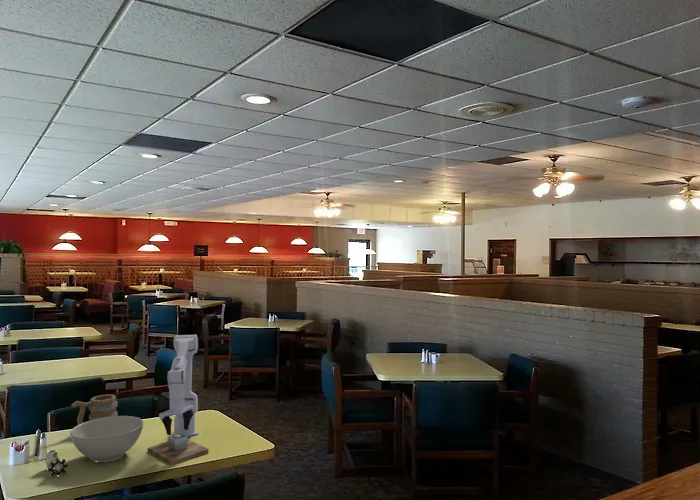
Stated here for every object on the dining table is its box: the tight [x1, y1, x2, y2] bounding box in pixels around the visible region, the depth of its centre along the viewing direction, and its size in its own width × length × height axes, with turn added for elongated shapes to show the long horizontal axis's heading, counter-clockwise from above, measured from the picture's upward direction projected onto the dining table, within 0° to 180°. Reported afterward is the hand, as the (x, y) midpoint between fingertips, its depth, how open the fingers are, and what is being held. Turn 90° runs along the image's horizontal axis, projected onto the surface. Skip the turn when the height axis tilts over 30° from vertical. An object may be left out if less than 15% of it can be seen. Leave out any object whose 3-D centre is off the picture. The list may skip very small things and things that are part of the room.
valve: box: [45, 449, 69, 477], centre depth 200 cm, size 7×7×12 cm
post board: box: [147, 434, 209, 465], centre depth 217 cm, size 20×16×6 cm
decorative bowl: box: [69, 415, 144, 463], centre depth 214 cm, size 27×27×12 cm
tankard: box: [71, 394, 119, 425], centre depth 246 cm, size 20×13×15 cm, turn 133°
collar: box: [167, 433, 189, 452], centre depth 217 cm, size 6×6×5 cm
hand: (177, 432), depth 217 cm, fingers open, 7 cm apart
